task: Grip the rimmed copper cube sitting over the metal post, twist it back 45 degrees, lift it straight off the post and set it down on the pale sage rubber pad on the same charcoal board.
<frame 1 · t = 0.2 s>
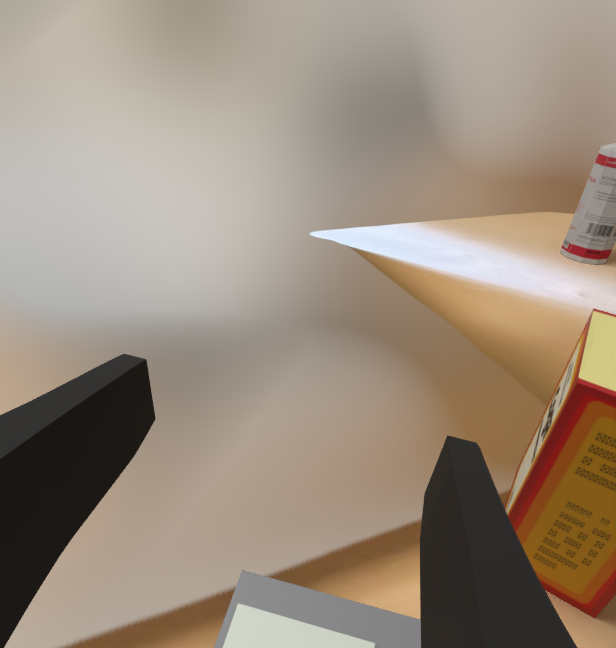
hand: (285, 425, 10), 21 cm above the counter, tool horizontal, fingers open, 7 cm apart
baking soda box: (549, 533, 32), on the counter
spray bottle: (582, 256, 80), on the counter
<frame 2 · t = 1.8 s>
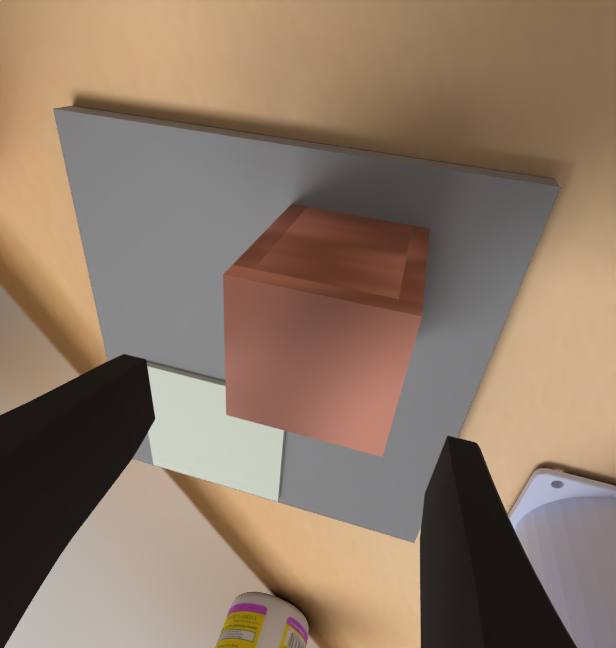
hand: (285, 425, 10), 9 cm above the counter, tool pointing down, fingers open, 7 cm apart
board: (276, 356, 21), on the counter
rimmed copper cube: (348, 278, 17), point 1 cm above the counter, touching board
supplement bottle: (273, 608, 36), on the counter
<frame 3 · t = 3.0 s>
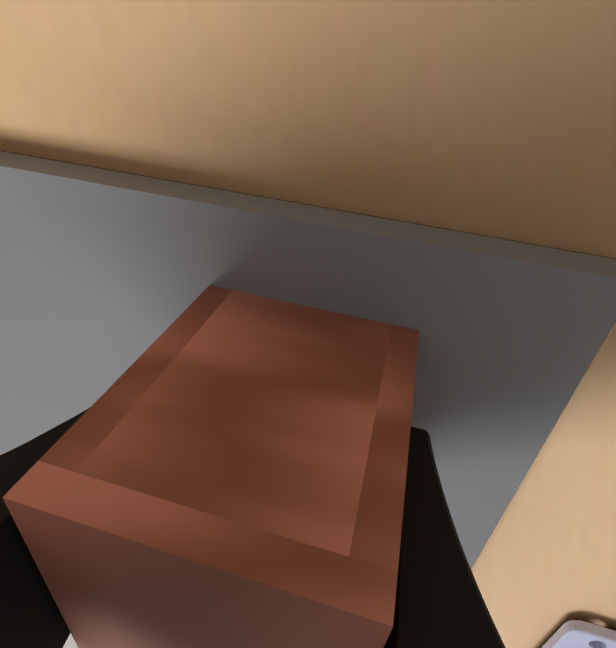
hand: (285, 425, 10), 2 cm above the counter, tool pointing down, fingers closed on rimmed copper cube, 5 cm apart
board: (217, 462, 16), on the counter
rimmed copper cube: (301, 387, 11), point 1 cm above the counter, touching board, gripper
when the fingers open (4 cm above the counter, at t = 7.8 s): rimmed copper cube drops 1 cm, resting on board.
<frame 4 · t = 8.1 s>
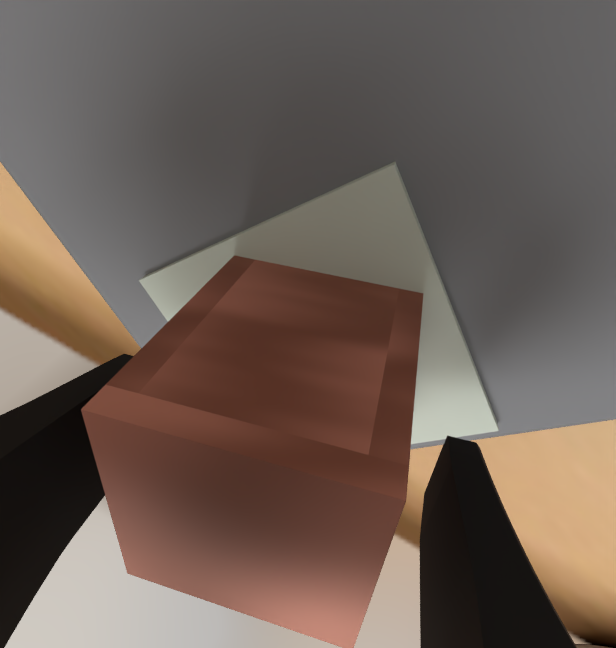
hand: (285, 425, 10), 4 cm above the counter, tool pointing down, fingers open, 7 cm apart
board: (335, 109, 10), on the counter
rimmed copper cube: (315, 350, 13), point 1 cm above the counter, touching board
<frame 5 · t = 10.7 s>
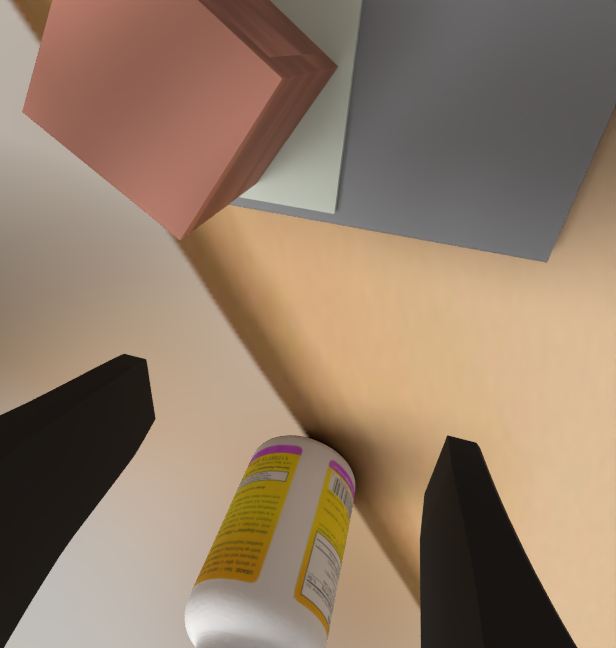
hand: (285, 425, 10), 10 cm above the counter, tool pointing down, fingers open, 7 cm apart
rimmed copper cube: (238, 79, 15), point 1 cm above the counter, touching board
supplement bottle: (306, 466, 27), on the counter
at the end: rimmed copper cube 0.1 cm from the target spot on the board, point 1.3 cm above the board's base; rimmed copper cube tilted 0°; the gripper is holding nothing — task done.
